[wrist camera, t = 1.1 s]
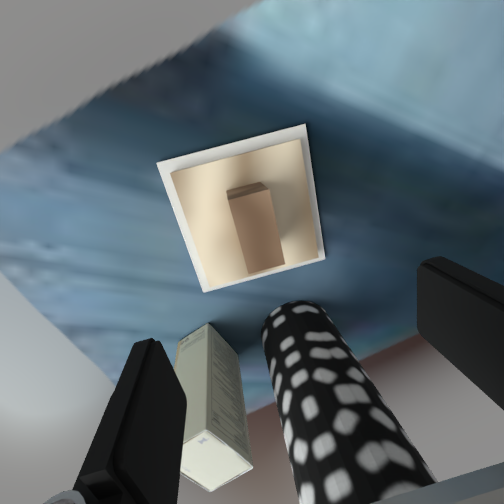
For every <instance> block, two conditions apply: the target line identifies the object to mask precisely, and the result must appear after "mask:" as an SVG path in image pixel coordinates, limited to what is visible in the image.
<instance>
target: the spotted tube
mask: <svg viewBox="0 0 504 504" xmlns="http://www.w3.org/2000/svg"><path fill="white" fill-rule="evenodd" d="M261 339H262V343H263V347H264V352H265V356H266V360H267V364H268V369H269V373H270V377H271V382H272V386H273V390H274V395H275V399H276V403H277V407H278V412H279V416H280V420H281V425H282V429H283V433H284V438H285V442H286V446H287V451H288V455H289V459H290V463H291V467H292V472H293V476H294V480H295V485H296V489H297V493H298V498H299V502H300V504H371V503H374V502H377V501H381V500H384V499H387V498H390V497H393V496H397V495H400V494H403V493H406V492H409V491H412V490H416V489H419V488H422V487H425V486H428V485H432V484H435V483H438V481H437V479H436V478H435V476H434V475H433V473H432V472H431V470H430V469H429V467H428V466H427V464H426V463H425V461H424V460H423V458H422V457H421V455H420V454H419V452H418V451H417V449H416V448H415V446H414V445H413V443H412V442H411V440H410V439H409V437H408V436H407V434H406V433H405V431H404V430H403V428H402V426H401V425H400V424H399V422H398V421H397V419H396V417H395V416H394V415H393V413H392V411H391V410H390V408H389V407H388V405H387V404H386V402H385V401H384V399H383V398H382V396H381V395H380V393H379V392H378V390H377V389H376V387H375V386H374V384H373V383H372V381H371V380H370V378H369V377H368V375H367V374H366V372H365V370H364V369H363V367H362V366H361V364H360V363H359V361H358V360H357V358H356V357H355V355H354V354H353V352H352V351H351V349H350V348H349V346H348V345H347V343H346V342H345V340H344V339H343V337H342V336H341V334H340V333H339V331H338V330H337V328H336V327H335V325H334V324H333V322H332V320H331V319H330V317H329V316H328V314H327V313H326V312H325V310H324V309H323V308H322V307H320V306H319V305H317V304H315V303H312V302H309V301H294V302H290V303H286V304H284V305H282V306H280V307H278V308H277V309H275V310H274V311H273V312H272V313H271V314H270V315H269V316H268V317H267V319H266V320H265V322H264V324H263V326H262V331H261Z"/></svg>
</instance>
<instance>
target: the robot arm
mask: <svg viewBox="0 0 504 504" xmlns="http://www.w3.org/2000/svg"><path fill="white" fill-rule="evenodd" d="M417 328H418V331H419V333H420V334H421V336H422V337H423V338H424V339H426V340H427V341H428V342H429V343H430V344H431V345H432V346H433V347H434V348H435V349H437V350H438V351H439V352H440V353H441V354H442V355H443V356H444V357H445V358H447V359H448V360H449V361H450V362H451V363H452V364H453V365H454V366H455V367H456V368H458V369H459V370H460V371H461V372H462V373H463V374H464V375H465V376H466V377H468V378H469V379H470V380H471V381H472V382H473V383H474V384H475V385H476V386H478V387H479V388H480V389H481V390H482V391H483V392H484V393H485V394H486V395H488V397H490V398H491V399H492V400H493V401H494V402H495V403H496V404H497V405H498V406H500V407H501V408H502V409H503V410H504V286H503V285H501V284H499V283H497V282H494V281H492V280H490V279H488V278H486V277H484V276H482V275H480V274H478V273H476V272H473V271H471V270H469V269H467V268H465V267H463V266H461V265H459V264H457V263H455V262H452V261H450V260H448V259H446V258H444V257H441V256H439V257H435V258H431V259H428V260H424V261H422V262H421V264H420V266H419V267H418V269H417ZM186 412H187V398H186V394H185V392H184V390H183V388H182V386H181V384H180V382H179V380H178V377H177V375H176V373H175V371H174V369H173V367H172V365H171V363H170V361H169V359H168V357H167V354H166V352H165V350H164V348H163V346H162V344H161V342H160V341H155V340H154V339H153V338H150V339H146V340H143V341H139V342H136V343H134V345H133V347H132V349H131V352H130V354H129V356H128V359H127V361H126V364H125V366H124V369H123V371H122V374H121V376H120V378H119V381H118V383H117V386H116V388H115V391H114V392H113V394H112V396H111V398H110V400H109V403H108V405H107V407H106V410H105V412H104V415H103V417H102V419H101V422H100V424H99V427H98V429H97V432H96V434H95V436H94V439H93V441H92V444H91V446H90V448H89V451H88V453H87V456H86V458H85V461H84V463H83V465H82V468H81V470H80V472H79V475H78V477H77V480H76V482H75V484H74V487H73V489H72V490H68V491H63V492H61V493H59V494H57V495H55V496H53V497H51V498H50V499H49V500H47V501H46V502H45V503H43V504H177V498H178V497H177V496H178V487H179V479H180V469H181V459H182V450H183V440H184V431H185V421H186ZM371 504H504V462H503V463H499V464H496V465H493V466H490V467H486V468H483V469H480V470H476V471H473V472H470V473H467V474H464V475H460V476H457V477H454V478H451V479H448V480H445V481H442V482H438V483H435V484H432V485H428V486H425V487H422V488H419V489H416V490H412V491H409V492H406V493H403V494H400V495H397V496H393V497H390V498H387V499H384V500H381V501H377V502H374V503H371Z"/></svg>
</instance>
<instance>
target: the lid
mask: <svg viewBox="0 0 504 504" xmlns="http://www.w3.org/2000/svg"><path fill="white" fill-rule="evenodd" d="M170 175H171V178H172V181H173V184H174V187H175V189H176V192H177V195H178V198H179V201H180V204H181V207H182V209H183V212H184V215H185V218H186V221H187V224H188V227H189V229H190V232H191V235H192V238H193V241H194V244H195V246H196V249H197V252H198V255H199V258H200V261H201V264H202V266H203V269H204V272H205V275H206V278H207V281H208V284H209V286H210V287H214V286H217V285H221V284H225V283H228V282H232V281H236V280H239V279H243V278H246V277H250V276H254V275H257V274H261V273H265V272H268V271H272V270H276V269H279V268H283V267H286V266H290V265H294V264H297V263H301V262H305V261H308V260H312V259H316V258H319V255H318V249H317V243H316V236H315V230H314V224H313V217H312V211H311V205H310V198H309V192H308V185H307V179H306V173H305V166H304V160H303V154H302V147H301V141H300V139H295V140H291V141H287V142H284V143H280V144H276V145H272V146H268V147H265V148H261V149H257V150H253V151H249V152H246V153H242V154H238V155H234V156H230V157H227V158H223V159H219V160H215V161H212V162H208V163H204V164H200V165H196V166H193V167H189V168H185V169H181V170H177V171H174V172H171V173H170Z"/></svg>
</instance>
